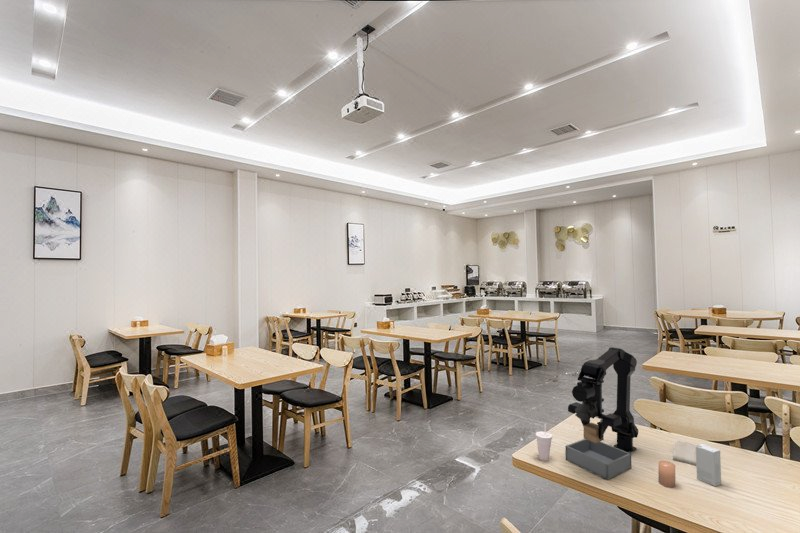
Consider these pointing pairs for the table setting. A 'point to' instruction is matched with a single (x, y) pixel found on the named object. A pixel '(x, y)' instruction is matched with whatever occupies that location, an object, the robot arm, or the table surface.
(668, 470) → the cylinder
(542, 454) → the smoothie
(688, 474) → the table surface
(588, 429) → the cube
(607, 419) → the robot arm
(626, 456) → the tote
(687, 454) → the washcloth
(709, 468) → the skincare box
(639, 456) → the table surface
